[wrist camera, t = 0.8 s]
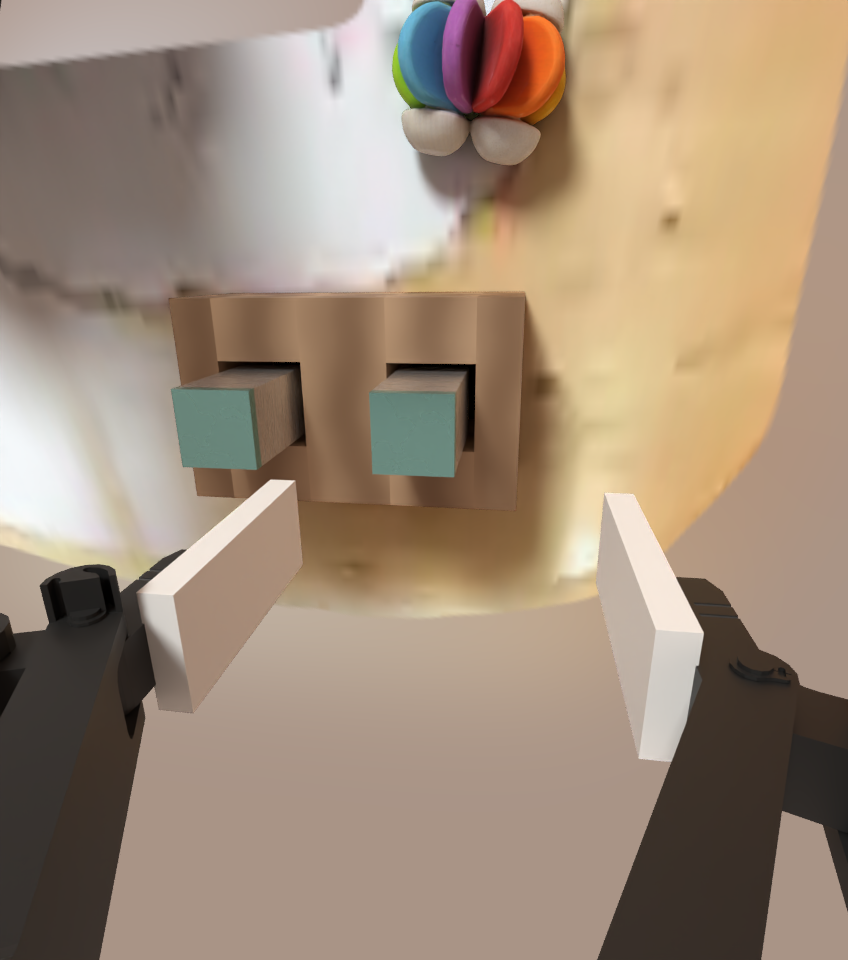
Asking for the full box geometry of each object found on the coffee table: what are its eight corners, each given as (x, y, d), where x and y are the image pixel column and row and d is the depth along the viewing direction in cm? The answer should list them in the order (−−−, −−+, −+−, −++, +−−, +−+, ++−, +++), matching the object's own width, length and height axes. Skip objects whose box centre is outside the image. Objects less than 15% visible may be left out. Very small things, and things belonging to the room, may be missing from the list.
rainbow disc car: (547, 174, 36) (553, 152, 29) (391, 152, 37) (363, 126, 30) (580, 6, 33) (595, -61, 26) (410, -13, 34) (383, -83, 27)
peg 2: (402, 432, 37) (372, 474, 29) (401, 366, 35) (369, 392, 28) (467, 434, 36) (454, 477, 28) (468, 367, 35) (454, 394, 27)
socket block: (250, 458, 45) (197, 495, 38) (232, 293, 41) (168, 298, 34) (516, 468, 42) (516, 510, 35) (524, 291, 38) (525, 296, 31)
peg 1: (249, 428, 38) (182, 466, 31) (242, 364, 37) (170, 389, 29) (309, 430, 37) (256, 470, 30) (304, 365, 36) (248, 390, 29)
